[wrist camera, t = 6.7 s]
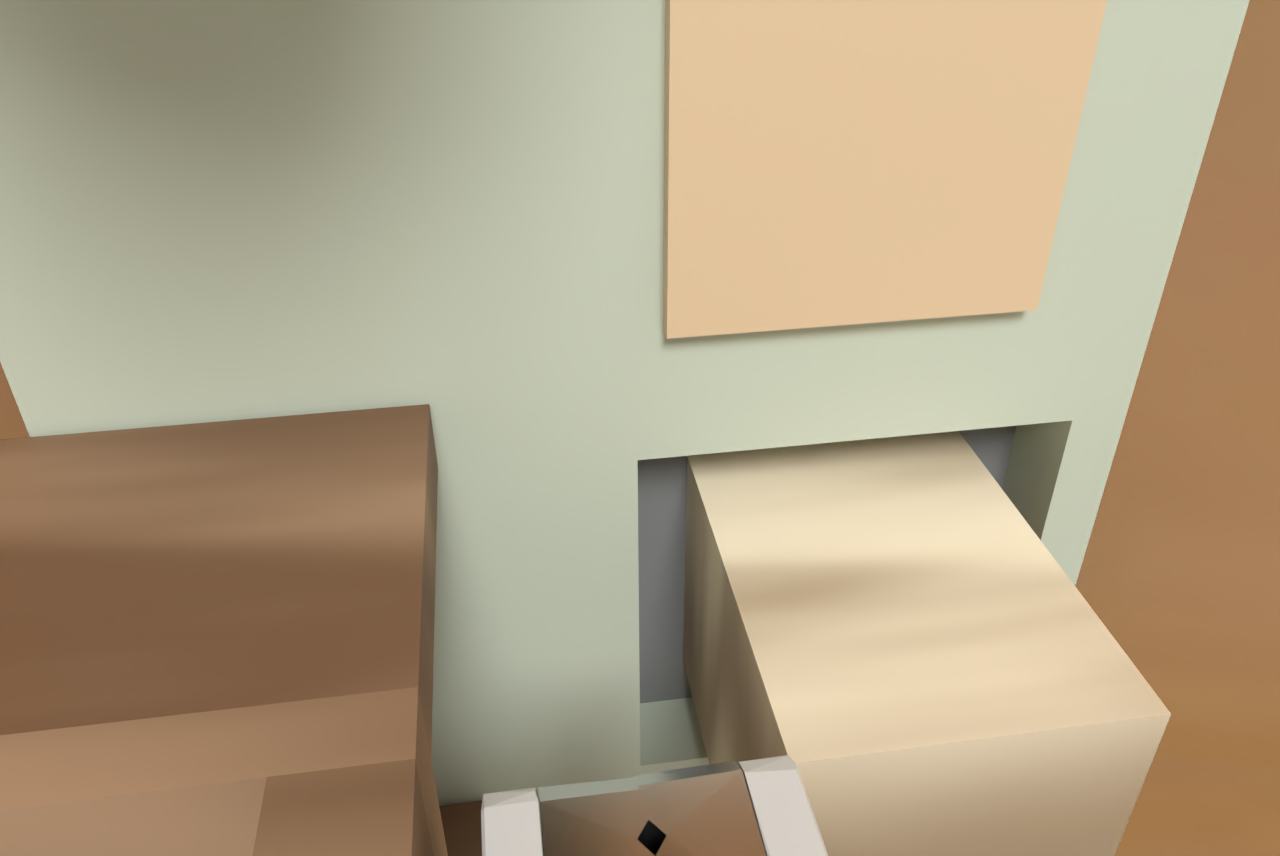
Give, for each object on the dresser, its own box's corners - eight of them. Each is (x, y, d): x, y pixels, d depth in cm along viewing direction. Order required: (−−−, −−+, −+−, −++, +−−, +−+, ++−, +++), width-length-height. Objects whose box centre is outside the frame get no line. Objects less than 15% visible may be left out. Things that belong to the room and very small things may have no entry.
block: (919, 632, 19) (1081, 936, 14) (682, 660, 19) (765, 986, 14) (958, 431, 17) (1170, 714, 12) (687, 455, 16) (790, 763, 11)
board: (966, 684, 22) (1025, 790, 20) (232, 775, 20) (205, 902, 18) (1177, -201, 13) (1326, -192, 11) (-93, -184, 11) (-228, -169, 9)
